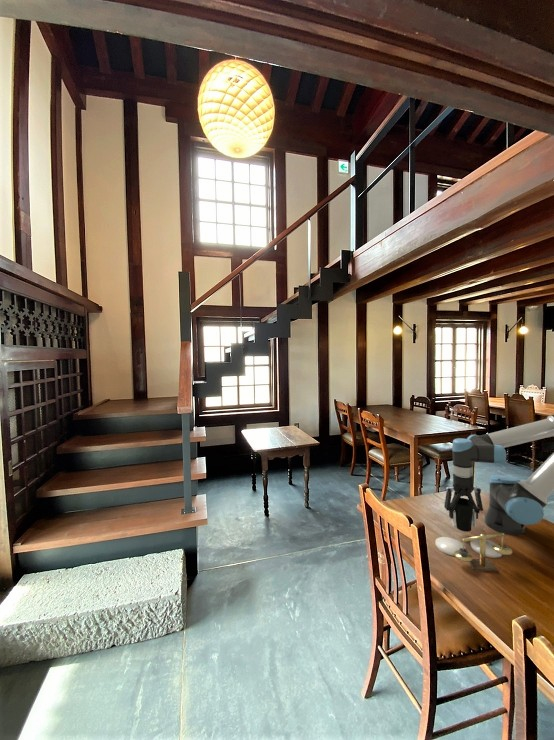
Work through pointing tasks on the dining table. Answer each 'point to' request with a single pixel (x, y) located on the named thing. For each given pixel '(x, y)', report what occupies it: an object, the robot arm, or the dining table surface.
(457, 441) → the robot arm
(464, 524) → the cup
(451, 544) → the low side dish
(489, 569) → the balance
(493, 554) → the white round plate
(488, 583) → the dining table surface
